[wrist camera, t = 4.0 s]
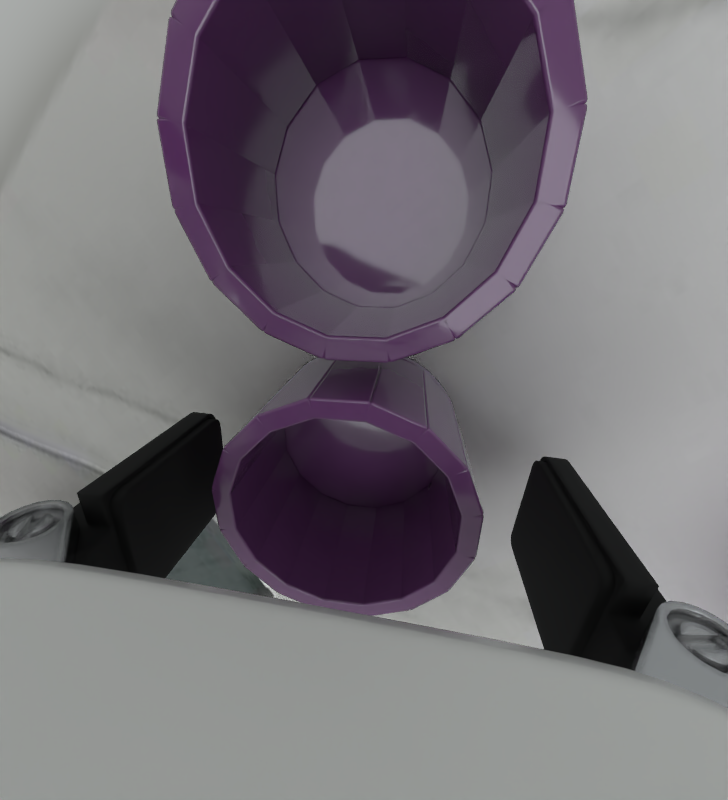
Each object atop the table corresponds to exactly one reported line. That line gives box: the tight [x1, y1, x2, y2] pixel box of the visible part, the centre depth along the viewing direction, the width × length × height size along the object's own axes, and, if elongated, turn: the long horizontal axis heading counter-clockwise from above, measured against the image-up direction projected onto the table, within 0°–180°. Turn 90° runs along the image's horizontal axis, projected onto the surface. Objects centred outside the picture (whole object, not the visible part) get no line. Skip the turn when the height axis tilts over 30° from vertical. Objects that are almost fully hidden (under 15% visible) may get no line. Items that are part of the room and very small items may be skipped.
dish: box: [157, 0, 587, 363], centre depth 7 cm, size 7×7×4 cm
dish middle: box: [212, 357, 484, 616], centre depth 10 cm, size 7×7×4 cm
